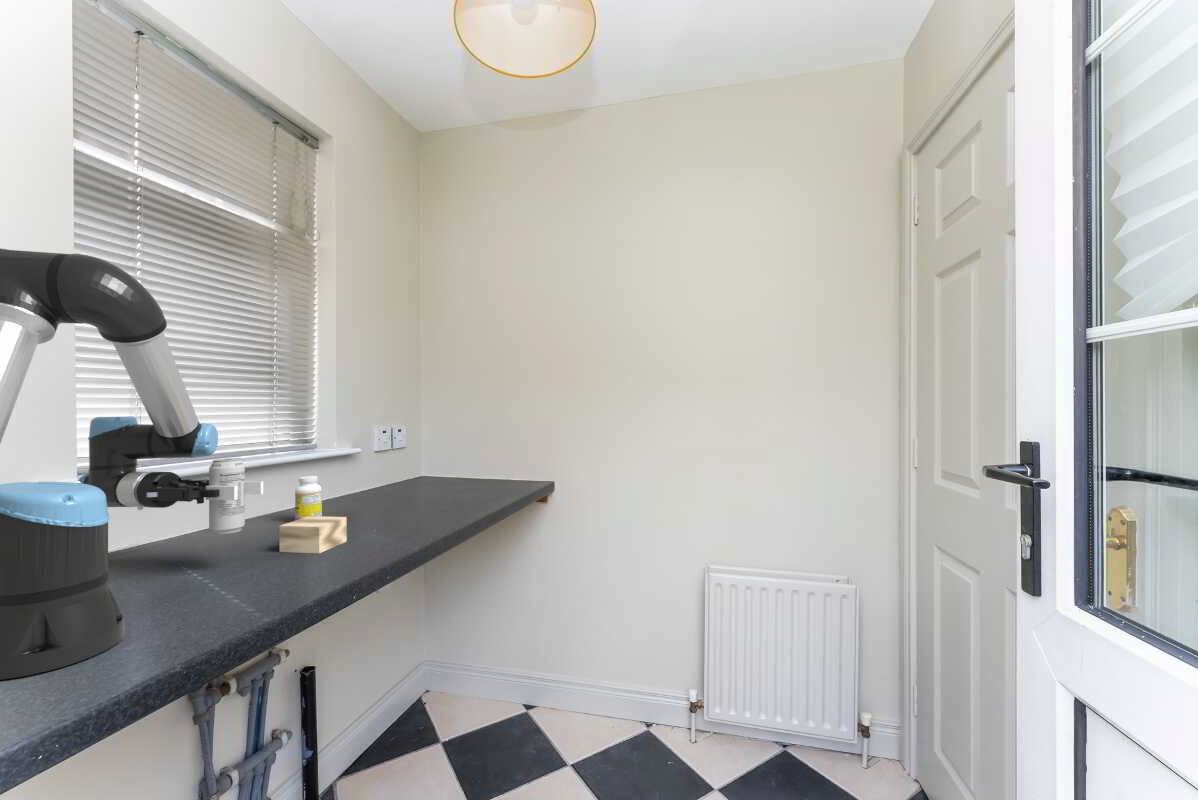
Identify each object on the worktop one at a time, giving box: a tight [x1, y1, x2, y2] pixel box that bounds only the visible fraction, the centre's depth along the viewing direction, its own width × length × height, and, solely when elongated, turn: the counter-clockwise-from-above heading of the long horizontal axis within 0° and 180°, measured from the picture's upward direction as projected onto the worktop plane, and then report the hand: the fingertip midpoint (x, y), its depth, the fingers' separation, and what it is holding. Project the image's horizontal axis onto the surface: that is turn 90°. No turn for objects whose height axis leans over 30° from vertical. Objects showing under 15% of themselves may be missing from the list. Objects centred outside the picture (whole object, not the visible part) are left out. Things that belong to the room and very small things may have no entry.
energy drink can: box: [208, 457, 246, 535], centre depth 108 cm, size 6×6×15 cm
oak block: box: [278, 515, 348, 554], centre depth 123 cm, size 10×10×6 cm
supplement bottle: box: [294, 475, 323, 521], centre depth 149 cm, size 7×7×13 cm
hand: (249, 490), depth 107 cm, fingers closed on energy drink can, 6 cm apart
